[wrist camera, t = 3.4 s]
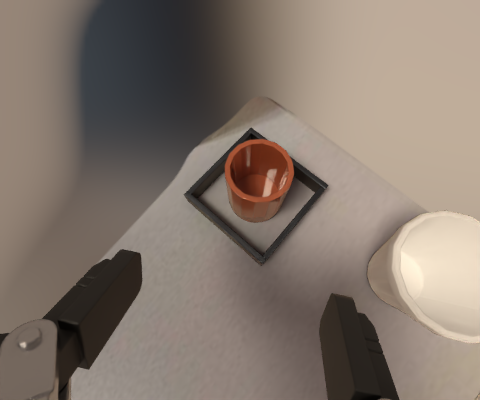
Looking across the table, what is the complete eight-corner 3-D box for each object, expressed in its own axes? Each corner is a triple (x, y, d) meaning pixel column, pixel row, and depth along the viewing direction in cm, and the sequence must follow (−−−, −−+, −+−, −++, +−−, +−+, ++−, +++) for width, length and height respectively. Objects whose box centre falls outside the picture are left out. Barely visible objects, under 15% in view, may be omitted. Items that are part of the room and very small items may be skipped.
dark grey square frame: (188, 201, 32) (183, 194, 30) (250, 138, 35) (250, 127, 33) (261, 266, 30) (262, 264, 28) (322, 192, 33) (328, 185, 30)
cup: (385, 214, 32) (441, 186, 23) (459, 279, 29) (552, 275, 20) (329, 273, 30) (366, 268, 21) (403, 348, 27) (480, 377, 18)
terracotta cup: (218, 199, 32) (210, 172, 25) (252, 163, 34) (255, 127, 26) (258, 233, 31) (263, 216, 23) (292, 194, 32) (307, 166, 25)
